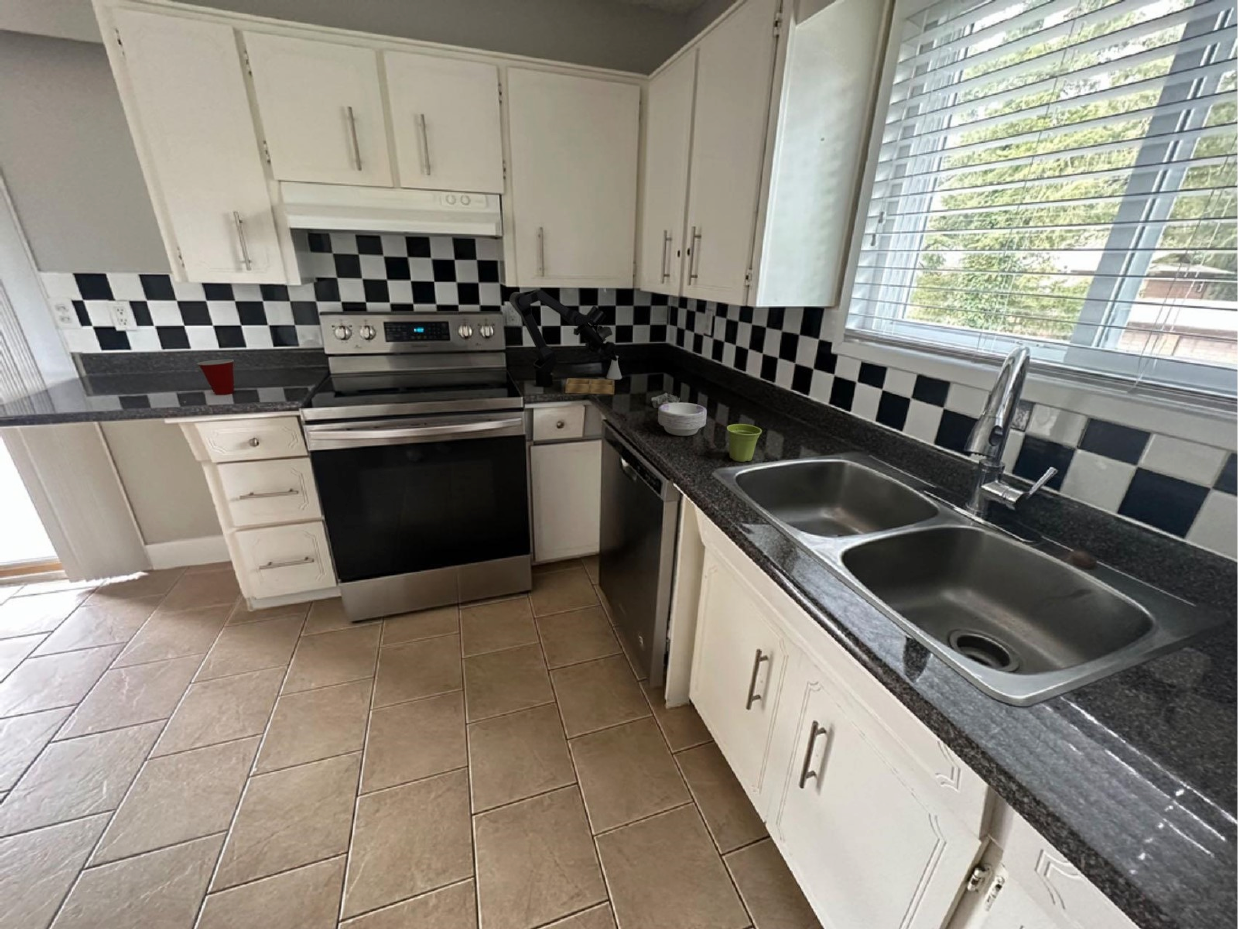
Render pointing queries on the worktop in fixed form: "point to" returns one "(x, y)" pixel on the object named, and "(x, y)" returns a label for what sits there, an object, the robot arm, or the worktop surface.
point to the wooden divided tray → (589, 386)
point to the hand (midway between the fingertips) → (611, 358)
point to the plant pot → (742, 441)
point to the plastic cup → (219, 375)
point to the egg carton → (664, 400)
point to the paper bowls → (682, 418)
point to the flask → (614, 370)
